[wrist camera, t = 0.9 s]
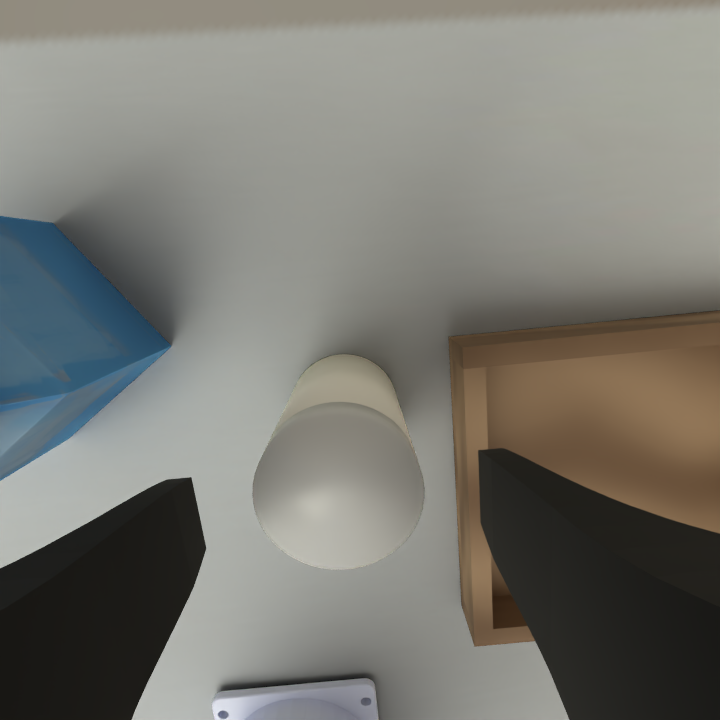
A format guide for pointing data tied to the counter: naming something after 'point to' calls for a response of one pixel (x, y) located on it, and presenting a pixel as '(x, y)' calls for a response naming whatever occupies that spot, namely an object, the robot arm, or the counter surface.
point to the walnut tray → (586, 429)
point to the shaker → (339, 469)
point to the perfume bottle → (59, 341)
